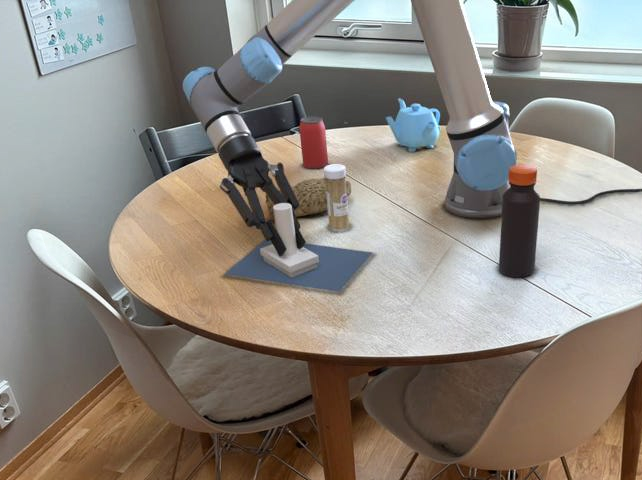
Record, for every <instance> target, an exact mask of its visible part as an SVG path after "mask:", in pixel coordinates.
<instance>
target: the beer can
mask: <svg viewBox="0 0 642 480" xmlns="http://www.w3.org/2000/svg"><path fill="white" fill-rule="evenodd" d="M325 126H326V125H325V124H324V121H323V118H322V117H321V116H317V115H316V116H315V115H310V116H305V117H302V118H301V119H300V123H299V139H300V149H301V157H302V165H303V166H304V167H305V168H307V169H310V170H311V169H312V170H318V169H322V168H323V169H324V167H325V166H327V165H329V155H328V146H327V145H328V144H327V134H326V127H325Z"/></svg>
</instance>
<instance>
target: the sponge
mask: <svg viewBox="0 0 642 480" xmlns="http://www.w3.org/2000/svg"><path fill="white" fill-rule="evenodd" d="M345 181H346V192H347V198H349V196H351V194H352V184H351V182H350V181H349V180H348V181H347V180H346V179H345ZM291 188H292V190H293V192H294V194H295V196H296V198H297V200H298V202H299V207H298V209H297V210H296V212H295V213H294V214H295V216H296V218H298V217H303V216H304V217H305V216H307V215H313V214H319V213H323V212H326V211H328V209H327V198H326V183H325V177H319V178H310V179H305V180H304V179H303V180H302V181H300V182H298V183H296V184H295V185H293V186H291ZM278 190H279V192H280V193H281V191H280V189H278ZM281 194H282V193H281ZM282 196H283V195H282ZM264 197H265V205H266V208H267V213H268V215H269V217H270V220H271V219H272V220H273V221H275V216H274V210H273V207H274V205H275V204H274V203H273V202H272V200H271V199H270V198H269V197H268V195H267V194H266V193H265V195H264Z"/></svg>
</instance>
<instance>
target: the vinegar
mask: <svg viewBox="0 0 642 480" xmlns="http://www.w3.org/2000/svg"><path fill="white" fill-rule="evenodd" d="M537 177H538V168H537V167H536V166H533V165H530V164H516V165H514V166H512V167H510V168H509V180H508V184H509V189H508V190H507V191H506V192H505V193H504V194H503V197H502V215H501V216H500V217H501V218H500V239H499V257H498V258H499V259H498V260H499V261H498V271H499V272H500V273H501V274H503V275H504V276H506V277H509V278H515V279H517V278H518V279H520V278H526V277H529V276H530V275H532V274H533V273H534V271H535V267H536V254H537V245H538V244H537V241H538V231H539V218H540V207H541V205H540V204H541V201H540V198H541V196H540V193H539V192H538V191H537V190H536V189H535V186H536V184H537Z"/></svg>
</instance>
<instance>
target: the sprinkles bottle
mask: <svg viewBox="0 0 642 480" xmlns="http://www.w3.org/2000/svg"><path fill="white" fill-rule="evenodd" d="M346 169H347V168H346V166H345V165H343V164H339V163H332V164H327V165H326V166H325V167H323V178H325V183H326V198H327V209H328V210H327V215H328V228H329V229H331V230H335V231H342V230H345V229H348V228H349V227H350V221H349V220H350V219H349V203H348V197H347V192H346V181H347V180H346V176H347V171H346ZM345 180H346V181H345Z"/></svg>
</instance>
